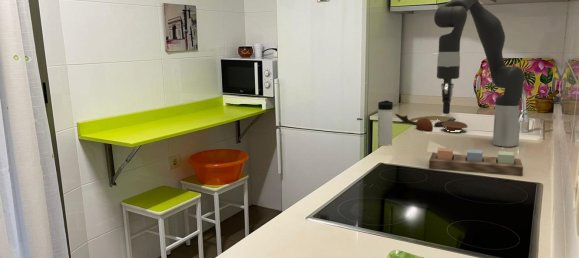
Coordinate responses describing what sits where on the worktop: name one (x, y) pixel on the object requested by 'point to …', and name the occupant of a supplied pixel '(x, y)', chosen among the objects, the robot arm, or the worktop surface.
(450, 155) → the terracotta button
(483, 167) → the button panel
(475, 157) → the slate blue button
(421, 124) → the potato
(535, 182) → the worktop surface
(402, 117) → the tree branch
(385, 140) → the travel mug
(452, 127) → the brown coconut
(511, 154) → the sage green button
